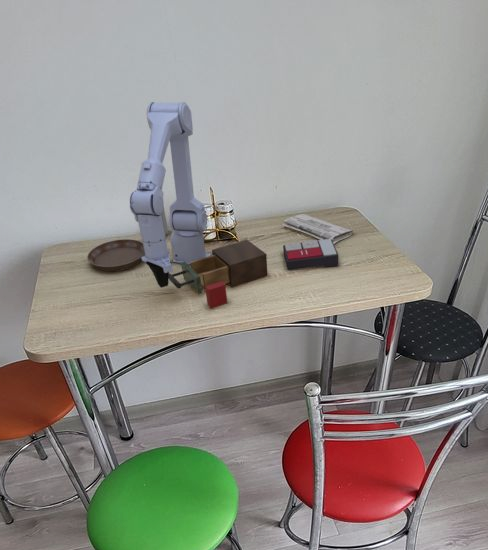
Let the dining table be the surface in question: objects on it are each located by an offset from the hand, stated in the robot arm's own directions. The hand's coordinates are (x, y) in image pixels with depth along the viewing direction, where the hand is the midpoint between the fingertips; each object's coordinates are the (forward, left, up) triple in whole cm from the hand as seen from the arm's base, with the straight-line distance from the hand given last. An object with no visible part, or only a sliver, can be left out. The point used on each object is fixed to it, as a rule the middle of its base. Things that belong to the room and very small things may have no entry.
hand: (163, 285), depth 129 cm
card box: (+15, +2, -4) cm, 15 cm away
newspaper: (+26, +53, -4) cm, 59 cm away
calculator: (+30, +32, -4) cm, 45 cm away
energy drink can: (-24, +34, -4) cm, 42 cm away
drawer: (+6, +8, -3) cm, 11 cm away
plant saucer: (-26, +14, -4) cm, 30 cm away
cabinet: (+14, +18, -4) cm, 23 cm away
